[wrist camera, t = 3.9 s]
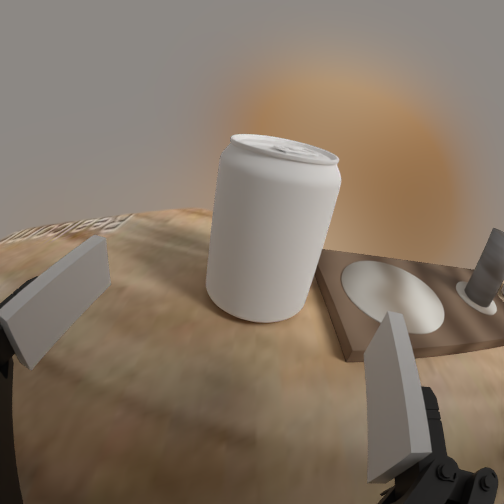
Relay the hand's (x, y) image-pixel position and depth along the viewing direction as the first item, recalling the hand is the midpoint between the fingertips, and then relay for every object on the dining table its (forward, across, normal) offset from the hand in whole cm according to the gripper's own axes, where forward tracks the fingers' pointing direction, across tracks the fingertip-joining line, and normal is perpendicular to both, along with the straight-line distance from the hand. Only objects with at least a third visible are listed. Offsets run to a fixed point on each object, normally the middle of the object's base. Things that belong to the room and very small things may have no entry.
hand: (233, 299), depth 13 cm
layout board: (+14, +18, -7) cm, 24 cm away
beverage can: (+10, 0, -7) cm, 12 cm away
